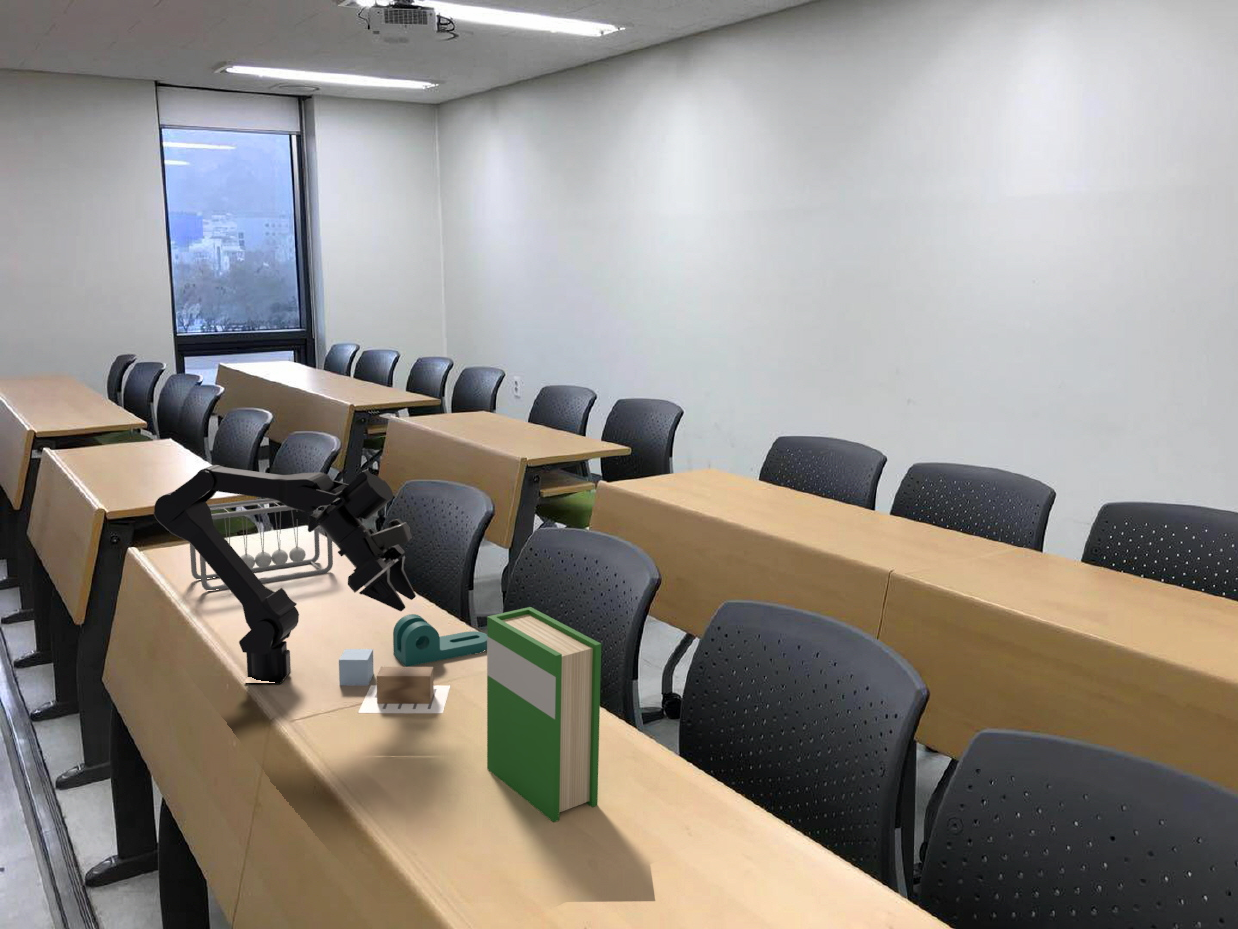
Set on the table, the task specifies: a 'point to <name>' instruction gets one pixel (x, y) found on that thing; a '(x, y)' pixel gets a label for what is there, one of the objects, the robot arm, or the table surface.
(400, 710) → the letter
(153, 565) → the table surface
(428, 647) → the bracket
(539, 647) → the hardback book
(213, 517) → the newton's cradle
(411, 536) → the robot arm
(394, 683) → the walnut block
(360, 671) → the cube
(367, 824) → the table surface
